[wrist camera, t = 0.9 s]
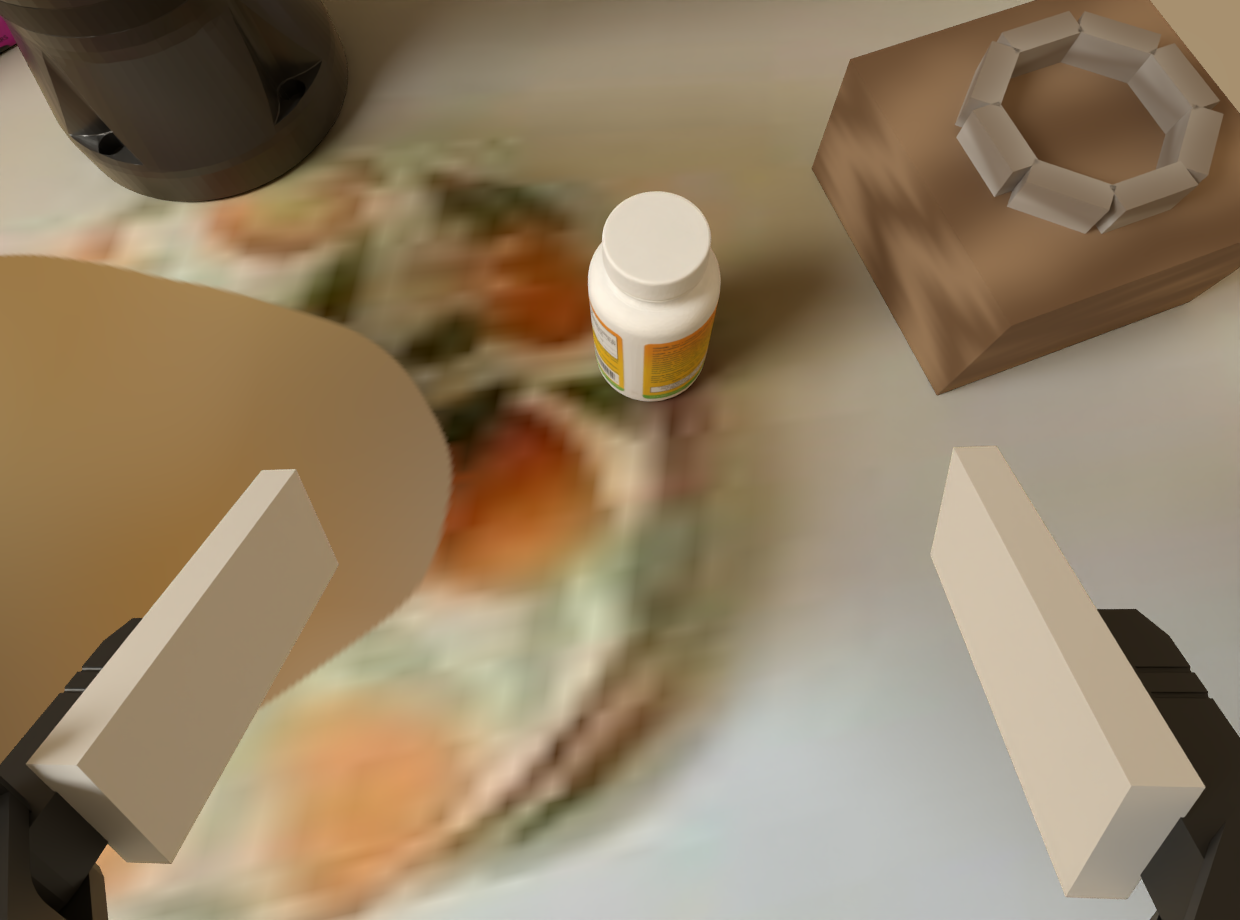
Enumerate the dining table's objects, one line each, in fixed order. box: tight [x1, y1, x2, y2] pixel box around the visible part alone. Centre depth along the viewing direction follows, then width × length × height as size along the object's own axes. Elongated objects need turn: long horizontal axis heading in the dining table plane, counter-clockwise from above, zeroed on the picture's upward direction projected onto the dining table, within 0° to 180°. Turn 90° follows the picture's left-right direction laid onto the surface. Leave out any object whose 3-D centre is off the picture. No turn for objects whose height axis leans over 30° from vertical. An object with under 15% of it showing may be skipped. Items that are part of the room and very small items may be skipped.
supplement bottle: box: [588, 191, 721, 401], centre depth 30 cm, size 5×5×10 cm
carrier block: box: [812, 0, 1240, 395], centre depth 33 cm, size 14×14×8 cm
